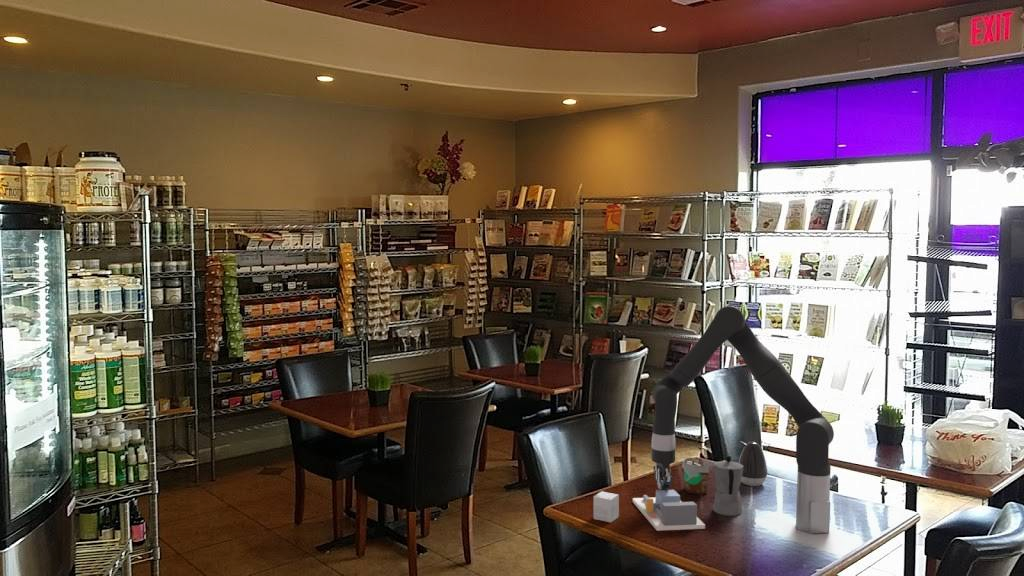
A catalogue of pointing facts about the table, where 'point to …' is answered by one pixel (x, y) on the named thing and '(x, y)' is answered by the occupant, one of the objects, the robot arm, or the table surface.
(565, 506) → the table surface
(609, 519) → the skincare box
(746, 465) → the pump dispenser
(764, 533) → the table surface
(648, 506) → the block
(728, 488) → the coffeepot
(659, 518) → the bench
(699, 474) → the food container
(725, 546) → the table surface
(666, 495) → the plunger
